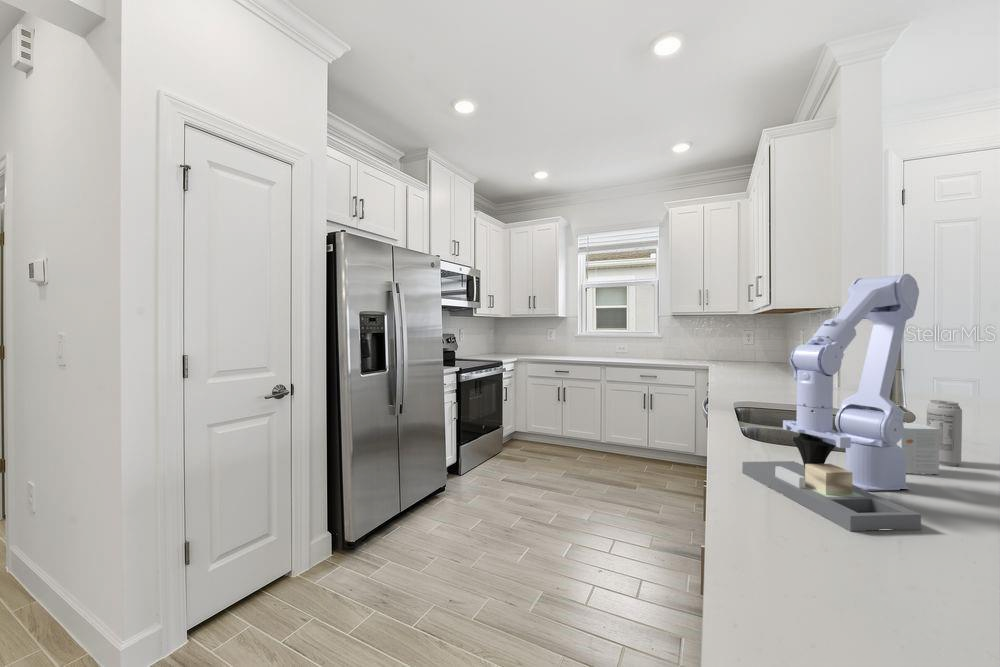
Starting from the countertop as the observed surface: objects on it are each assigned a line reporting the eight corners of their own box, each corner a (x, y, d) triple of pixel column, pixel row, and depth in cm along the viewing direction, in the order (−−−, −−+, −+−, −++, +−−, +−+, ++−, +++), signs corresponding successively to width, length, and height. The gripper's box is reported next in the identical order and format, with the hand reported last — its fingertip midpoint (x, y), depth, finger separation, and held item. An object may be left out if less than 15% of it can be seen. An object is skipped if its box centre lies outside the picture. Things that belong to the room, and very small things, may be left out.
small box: (918, 467, 102) (918, 423, 101) (939, 475, 96) (940, 428, 96) (881, 466, 102) (882, 422, 102) (900, 474, 97) (901, 427, 97)
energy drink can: (968, 466, 103) (969, 403, 103) (948, 467, 101) (950, 404, 101) (937, 458, 109) (938, 399, 108) (919, 460, 107) (920, 400, 107)
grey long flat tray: (793, 472, 98) (793, 452, 98) (920, 529, 70) (921, 502, 70) (742, 472, 97) (742, 453, 97) (850, 531, 69) (850, 503, 69)
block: (829, 484, 83) (830, 463, 83) (852, 494, 78) (852, 472, 78) (804, 484, 83) (805, 463, 83) (825, 494, 78) (826, 472, 78)
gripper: (769, 399, 91) (768, 463, 91) (824, 413, 77) (823, 488, 77) (801, 399, 91) (800, 463, 92) (862, 412, 77) (861, 488, 77)
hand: (813, 474), depth 84 cm, fingers closed
